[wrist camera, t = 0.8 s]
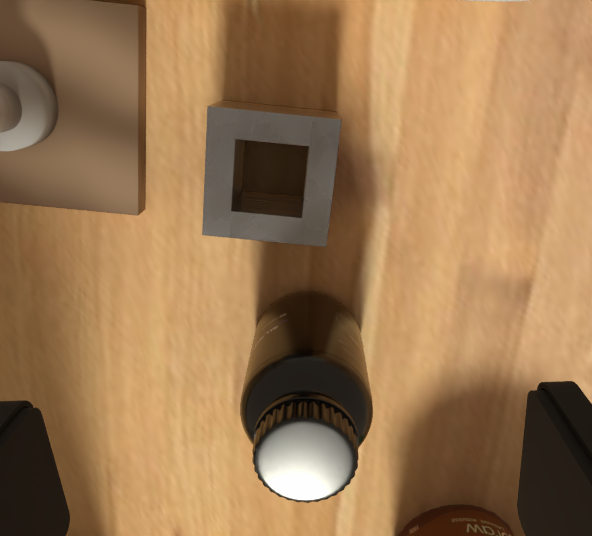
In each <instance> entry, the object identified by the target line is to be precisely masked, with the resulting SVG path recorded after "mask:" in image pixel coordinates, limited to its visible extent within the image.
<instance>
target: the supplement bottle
mask: <svg viewBox="0 0 592 536" xmlns="http://www.w3.org/2000/svg"><path fill="white" fill-rule="evenodd" d="M240 416H241V421H242V425H243V428H244V431H245V433H246V435H247V437H248V438H249V440H250V441H251V443H252V444H253V464H254V465H255V468H254V469H255V472H256V473H257V474H258V478H259V479H260V480H261V481H262V482H263V485H264V486H265V487H267V488H269V490H270V491H271V492H273V493H276V494H277V495H278V496H279V497H284V498H286V499H287V500H294V501H296V502H307V503H309V502H312V501H314V502H318V501H320V500H324V499H328V498H329V497H331V496H335V495H337V493H338V492H340V491H342V490H344V488H345V486H347V485H348V484H350V481H351V479H352V478H353V477H354V476H355V471H356V469H357V467H358V462H357V461H358V448H359V446H360V445H361V444H362V442H363V441H364V440H365V438H366V436H367V434H368V432H369V429H370V426H371V423H372V417H373V405H372V396H371V390H370V384H369V378H368V373H367V367H366V361H365V355H364V349H363V343H362V338H361V333H360V329H359V326H358V324H357V321H356V319H355V318H354V316H353V315H352V313H351V312H350V311H349V310H348V308H346V307H345V306H344V305H343V304H342V303H340V302H339V301H337V300H336V299H334V298H332V297H330V296H327V295H324V294H321V293H315V292H300V293H295V294H291V295H288V296H285V297H283V298H281V299H279V300H278V301H276V302H275V303H274V304H272V305H271V306H270V307H269V308H268V309H267V310H266V311H265V312H264V314H263V315H262V317H261V319H260V320H259V323H258V325H257V328H256V331H255V335H254V340H253V344H252V349H251V354H250V358H249V363H248V368H247V372H246V377H245V382H244V386H243V391H242V396H241V404H240Z"/></svg>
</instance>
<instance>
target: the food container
mask: <svg viewBox="0 0 592 536" xmlns="http://www.w3.org/2000/svg"><path fill="white" fill-rule="evenodd" d="M398 536H514V535H513V533H512V531H511V529H510V528H509V526H508V524H506V523H505V522H504V521H503V520H502V519H501V518H499V517H498V516H497V515H496V514H495V513H492V512H490V511H488V510H485V509H483V508H480V507H476V506H471V505H449V506H443V507H439V508H436V509H432V510H430V511H428V512H425V513H423V514H421V515H420V516H418V517H416V518H415V519H413V520H412V521H411V522H410V523H409V524H407V525H406V526H405V527H404V529H403V530H402V531H401V532H400V533H399V535H398Z"/></svg>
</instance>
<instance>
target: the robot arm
mask: <svg viewBox="0 0 592 536" xmlns="http://www.w3.org/2000/svg"><path fill="white" fill-rule="evenodd" d="M517 507H518V515H519V519H520V523H521V525H522V528H523V530H524V533H525V535H526V536H592V404H591V403H590V401H589V400H588V399H587V397H586V396H585V395H584V393H583V392H582V391H581V389H580V388H579V387H578V385H577V384H576V383H575V382H572V381H564V382H541V383H540V384H539V386H538V388H537V390H534V391H530V392H529V394H528V398H527V408H526V419H525V429H524V439H523V450H522V460H521V470H520V481H519V491H518V503H517ZM69 522H70V515H69V510H68V506H67V503H66V499H65V495H64V492H63V488H62V485H61V481H60V478H59V474H58V470H57V467H56V463H55V460H54V456H53V452H52V449H51V445H50V442H49V438H48V435H47V431H46V427H45V424H44V420H43V417H42V414H41V411H40V410H39V409H38V408H33V405H32V404H31V403H30V402H29V401H0V536H65V535H66V533H67V531H68V527H69Z"/></svg>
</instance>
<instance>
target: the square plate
mask: <svg viewBox="0 0 592 536" xmlns="http://www.w3.org/2000/svg"><path fill="white" fill-rule="evenodd" d="M467 1H499V2H509V1H528V0H467Z"/></svg>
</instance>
